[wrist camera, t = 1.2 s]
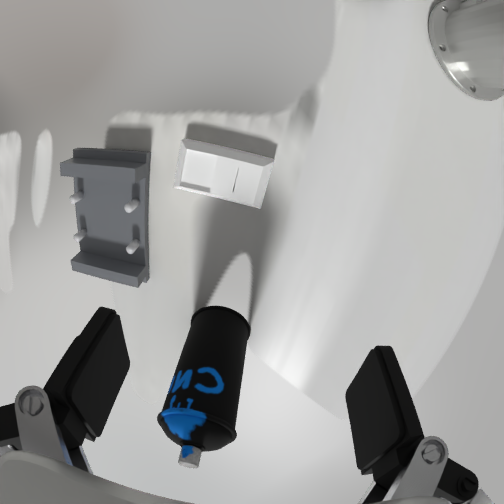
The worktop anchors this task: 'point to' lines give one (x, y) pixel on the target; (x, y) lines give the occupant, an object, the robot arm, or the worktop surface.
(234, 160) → the white rectangular block
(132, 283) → the pin tray
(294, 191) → the worktop surface
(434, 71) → the worktop surface
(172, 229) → the worktop surface
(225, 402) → the aerosol can
